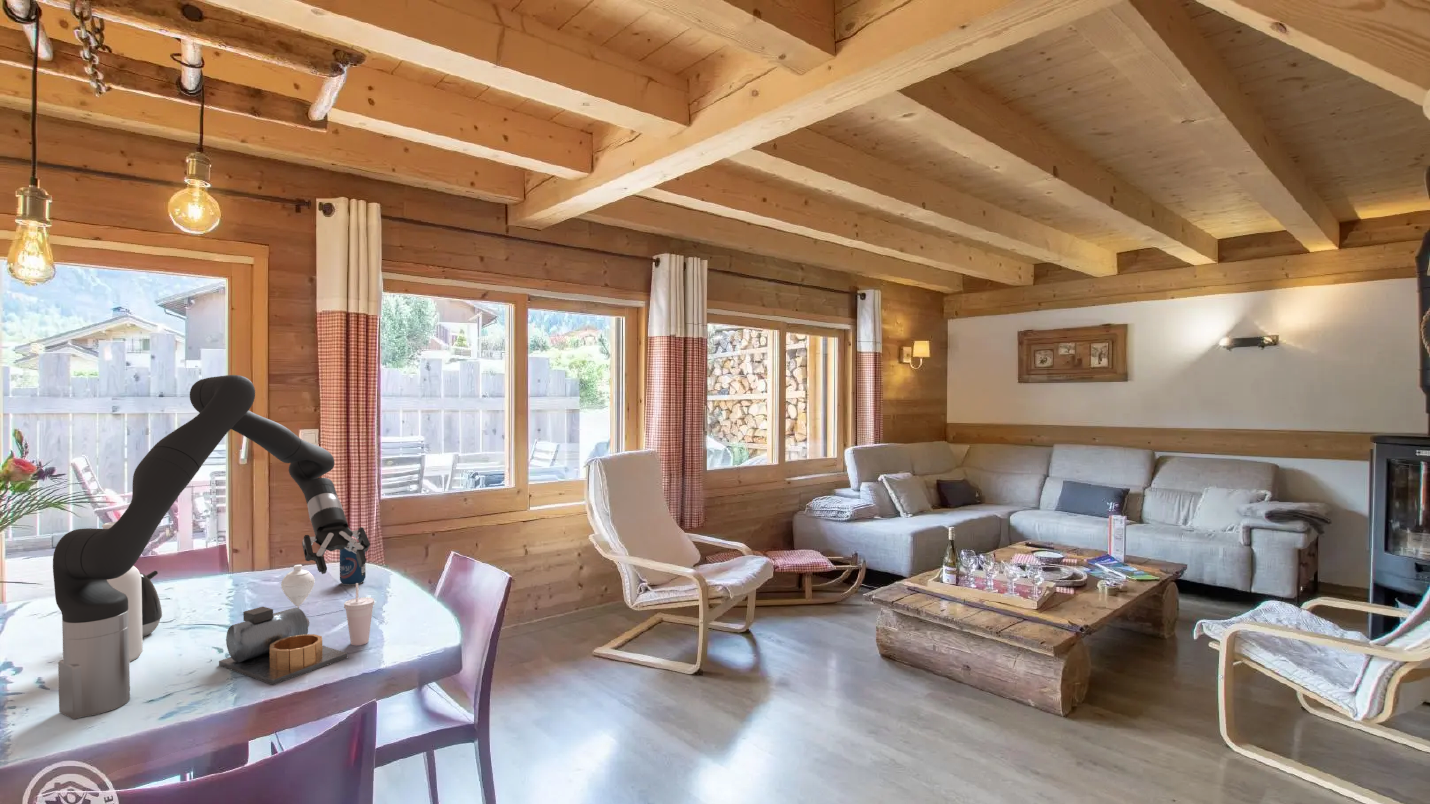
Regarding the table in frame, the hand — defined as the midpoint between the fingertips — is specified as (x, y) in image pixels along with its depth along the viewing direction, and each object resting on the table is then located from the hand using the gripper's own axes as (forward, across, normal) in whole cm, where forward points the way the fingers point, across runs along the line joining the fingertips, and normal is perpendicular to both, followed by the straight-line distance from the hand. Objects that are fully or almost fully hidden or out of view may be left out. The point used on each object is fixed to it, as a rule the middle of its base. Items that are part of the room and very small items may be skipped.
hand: (344, 568), depth 169 cm
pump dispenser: (-13, -35, +35) cm, 51 cm away
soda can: (-20, +17, +42) cm, 49 cm away
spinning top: (-8, -2, +30) cm, 31 cm away
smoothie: (+18, 0, +4) cm, 19 cm away
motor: (+18, -16, +4) cm, 24 cm away
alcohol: (-1, -40, +24) cm, 47 cm away
